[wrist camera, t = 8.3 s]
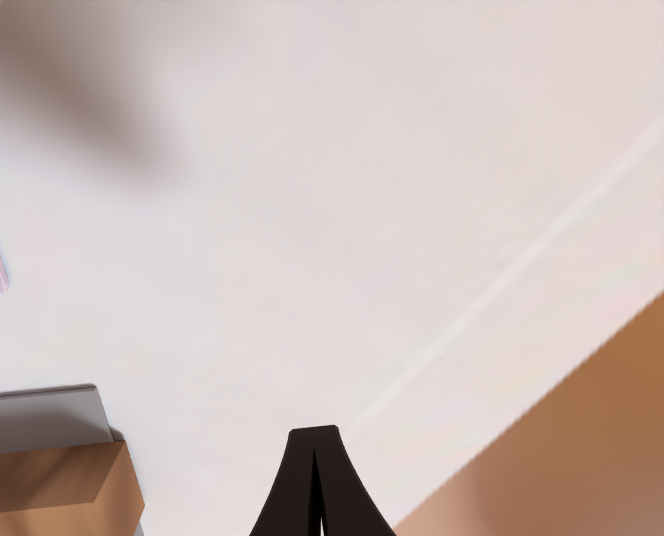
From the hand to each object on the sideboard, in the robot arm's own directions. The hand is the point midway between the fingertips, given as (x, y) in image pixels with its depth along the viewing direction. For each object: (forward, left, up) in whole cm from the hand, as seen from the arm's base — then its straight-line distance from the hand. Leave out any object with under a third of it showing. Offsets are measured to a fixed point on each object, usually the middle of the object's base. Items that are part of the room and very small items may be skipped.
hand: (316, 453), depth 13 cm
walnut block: (-11, -10, -8) cm, 17 cm away
